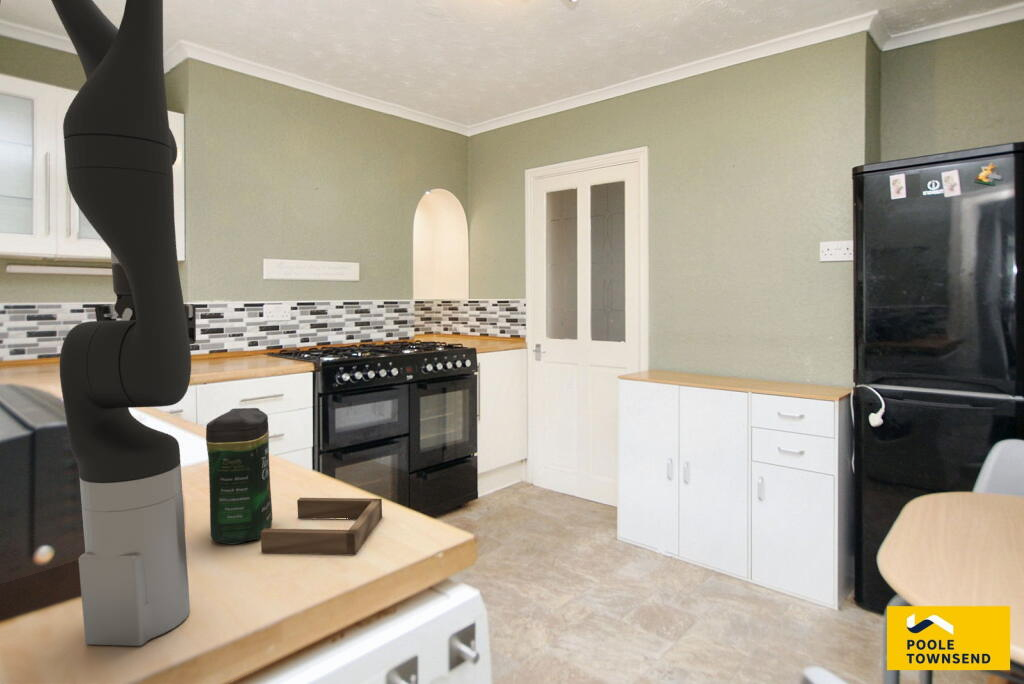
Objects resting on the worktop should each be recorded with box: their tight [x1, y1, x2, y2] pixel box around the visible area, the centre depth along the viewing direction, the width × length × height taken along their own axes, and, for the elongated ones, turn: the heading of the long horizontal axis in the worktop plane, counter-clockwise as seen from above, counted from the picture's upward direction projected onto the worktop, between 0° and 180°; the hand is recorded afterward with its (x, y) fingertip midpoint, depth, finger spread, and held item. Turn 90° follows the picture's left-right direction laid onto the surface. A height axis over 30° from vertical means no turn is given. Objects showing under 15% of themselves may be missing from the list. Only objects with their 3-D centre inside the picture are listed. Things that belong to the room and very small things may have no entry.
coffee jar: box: [205, 407, 273, 545], centre depth 90 cm, size 10×8×19 cm
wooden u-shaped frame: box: [260, 497, 383, 555], centre depth 89 cm, size 13×13×3 cm
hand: (150, 374), depth 89 cm, fingers open, 7 cm apart
